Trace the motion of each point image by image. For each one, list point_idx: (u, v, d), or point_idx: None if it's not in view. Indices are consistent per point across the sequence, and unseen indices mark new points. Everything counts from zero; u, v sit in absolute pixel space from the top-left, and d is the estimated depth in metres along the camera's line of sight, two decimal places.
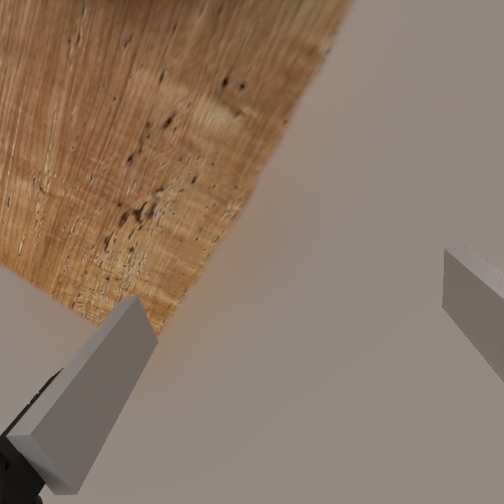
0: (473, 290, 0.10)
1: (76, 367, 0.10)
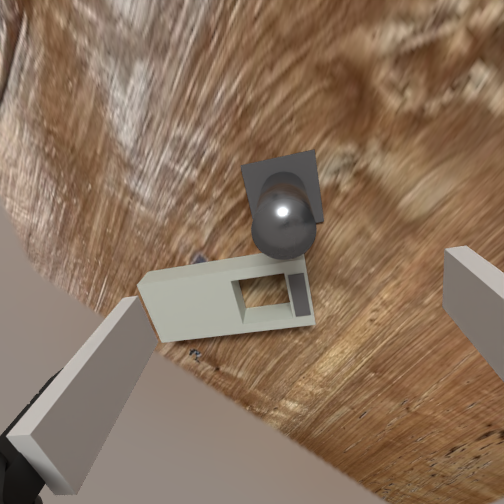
0: (473, 290, 0.10)
1: (76, 367, 0.10)
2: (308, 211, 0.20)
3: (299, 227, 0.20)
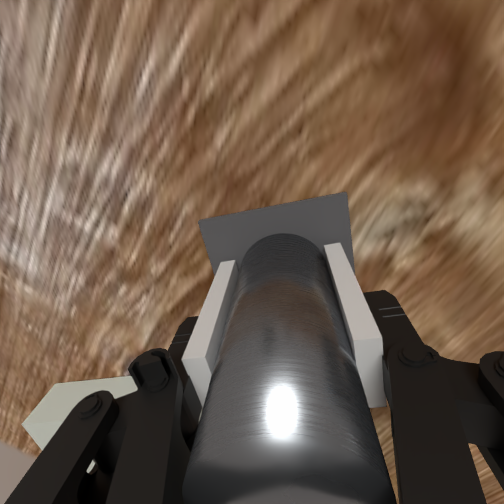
0: (331, 277, 0.13)
1: (213, 311, 0.11)
2: (374, 472, 0.06)
3: None
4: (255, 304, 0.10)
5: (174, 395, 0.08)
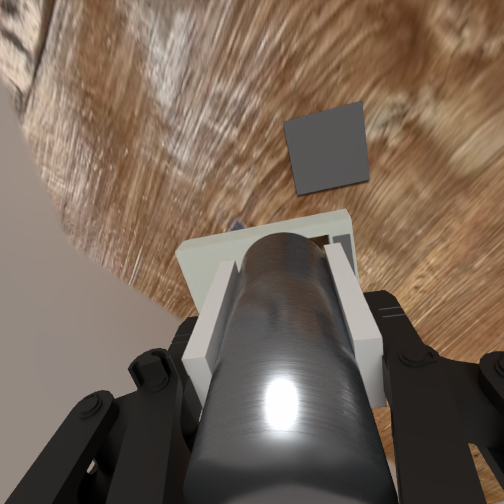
0: (331, 277, 0.13)
1: (213, 311, 0.11)
2: (376, 470, 0.06)
3: (341, 503, 0.06)
4: (256, 303, 0.09)
5: (174, 395, 0.08)
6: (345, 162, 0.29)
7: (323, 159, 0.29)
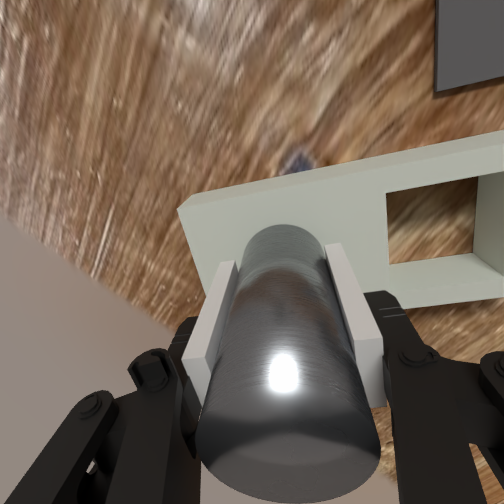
0: (331, 277, 0.13)
1: (212, 312, 0.11)
2: (361, 417, 0.07)
3: (332, 448, 0.07)
4: (257, 284, 0.10)
5: (174, 395, 0.08)
6: None
7: None
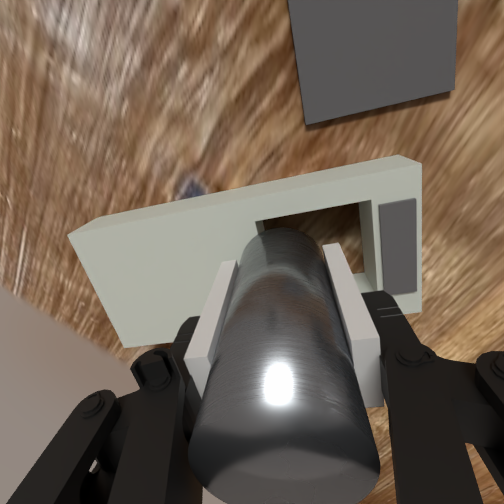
0: (329, 277, 0.13)
1: (214, 311, 0.11)
2: (360, 433, 0.06)
3: (329, 464, 0.07)
4: (255, 291, 0.10)
5: (176, 395, 0.08)
6: (407, 50, 0.14)
7: (362, 42, 0.14)
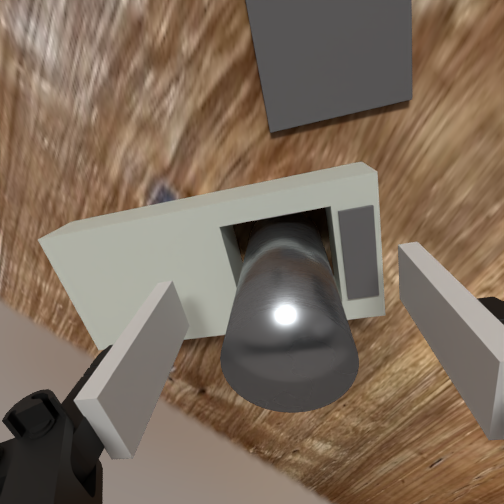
0: (417, 281, 0.11)
1: (127, 342, 0.11)
2: (344, 333, 0.09)
3: (322, 361, 0.10)
4: (265, 251, 0.13)
5: (61, 435, 0.08)
6: (365, 61, 0.14)
7: (321, 52, 0.14)
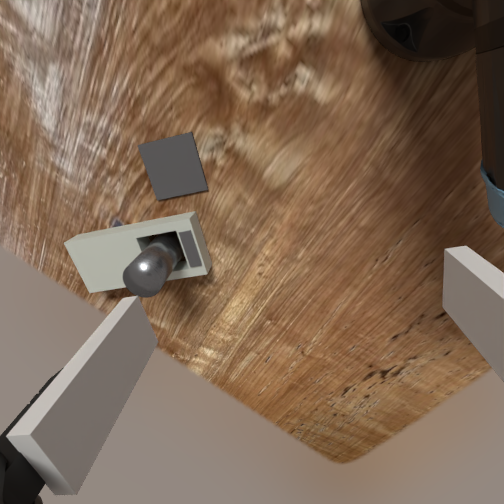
0: (473, 290, 0.10)
1: (76, 367, 0.10)
2: (154, 270, 0.33)
3: (150, 279, 0.33)
4: (146, 247, 0.37)
5: None
6: (187, 176, 0.38)
7: (171, 173, 0.38)
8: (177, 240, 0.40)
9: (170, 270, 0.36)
